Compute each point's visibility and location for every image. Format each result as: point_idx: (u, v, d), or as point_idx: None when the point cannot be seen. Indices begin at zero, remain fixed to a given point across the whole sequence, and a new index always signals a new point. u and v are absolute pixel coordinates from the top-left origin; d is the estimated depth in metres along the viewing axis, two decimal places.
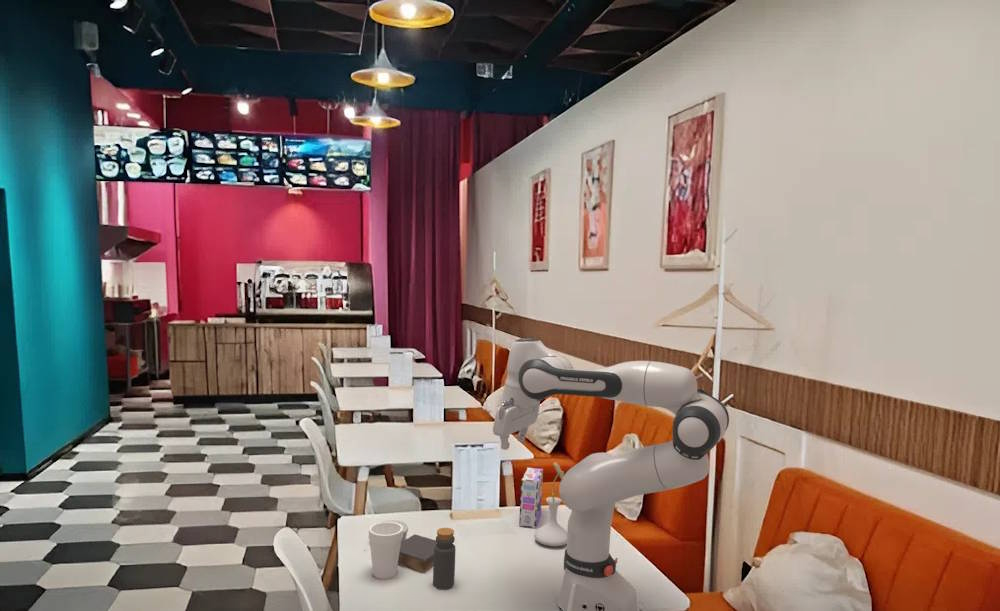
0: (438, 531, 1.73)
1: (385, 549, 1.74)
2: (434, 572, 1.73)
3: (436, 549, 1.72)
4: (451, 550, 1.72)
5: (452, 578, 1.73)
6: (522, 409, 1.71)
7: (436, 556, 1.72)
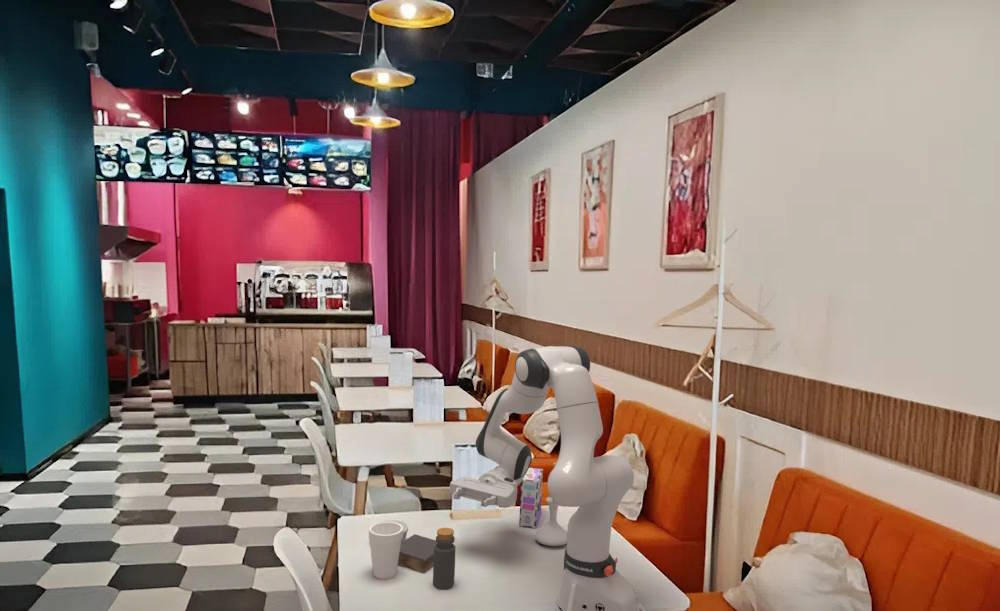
0: (438, 531, 1.73)
1: (385, 549, 1.74)
2: (434, 572, 1.73)
3: (436, 549, 1.72)
4: (451, 550, 1.72)
5: (452, 578, 1.73)
6: (482, 479, 1.95)
7: (436, 556, 1.72)
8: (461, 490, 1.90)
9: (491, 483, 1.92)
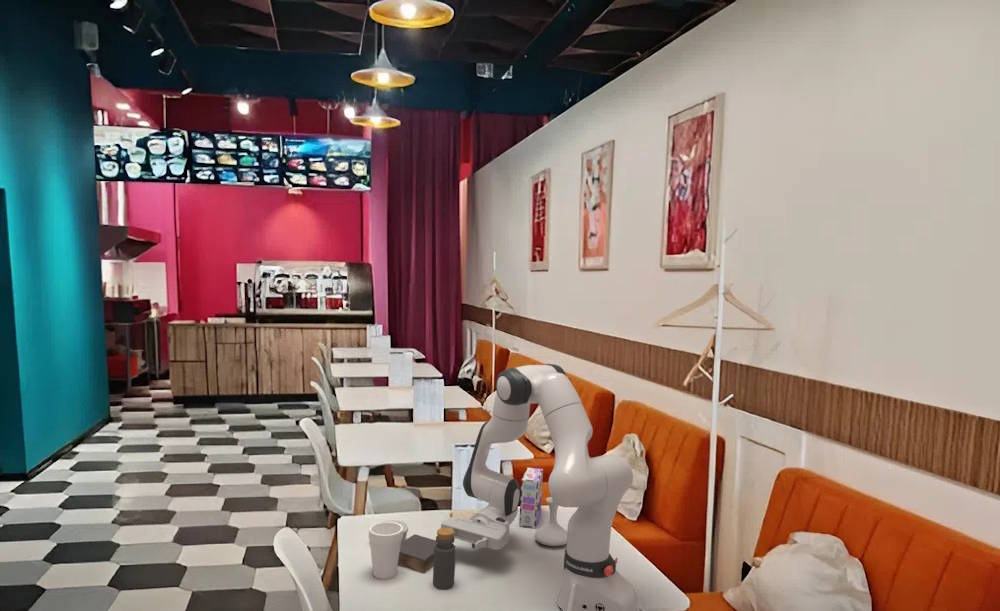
0: (438, 531, 1.73)
1: (385, 549, 1.74)
2: (434, 572, 1.73)
3: (436, 549, 1.72)
4: (451, 550, 1.72)
5: (452, 578, 1.73)
6: (473, 519, 1.91)
7: (436, 556, 1.72)
8: None
9: (483, 523, 1.89)
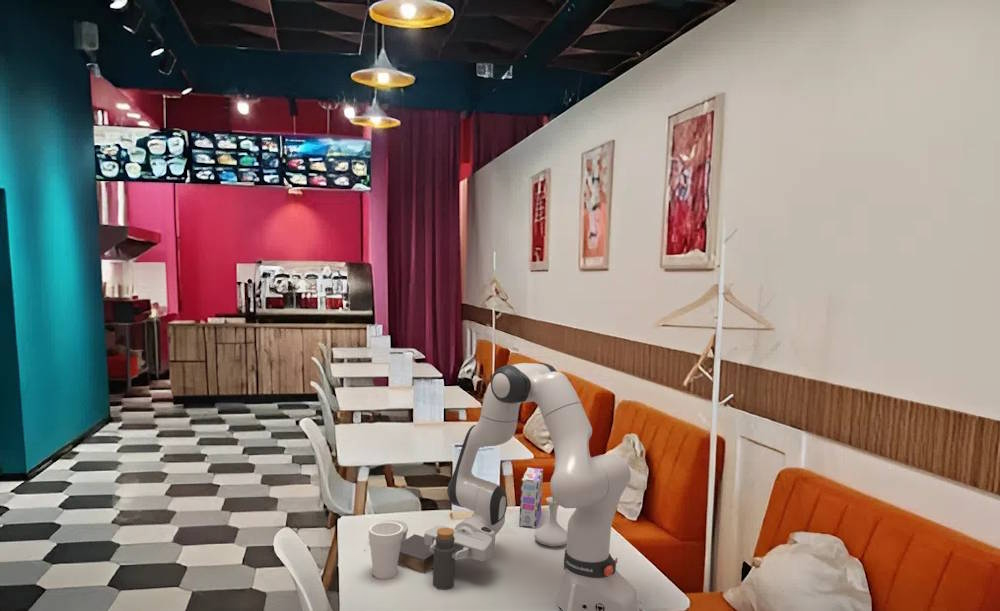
0: (438, 531, 1.73)
1: (385, 549, 1.74)
2: (434, 572, 1.73)
3: (436, 549, 1.72)
4: (451, 550, 1.72)
5: (452, 578, 1.73)
6: (458, 529, 1.84)
7: (436, 556, 1.72)
8: None
9: (468, 533, 1.82)
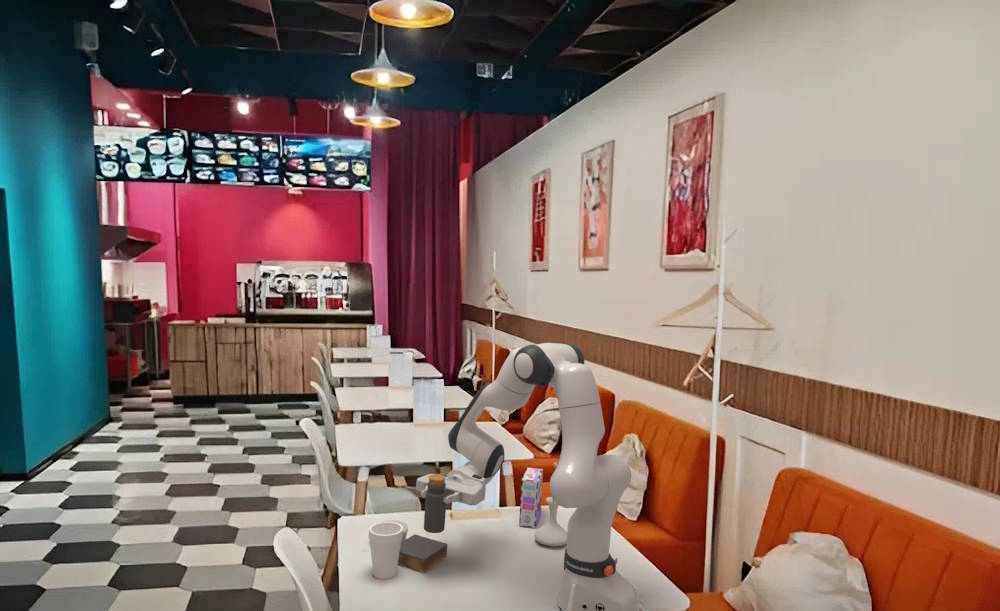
0: (430, 477, 1.77)
1: (385, 549, 1.74)
2: (426, 516, 1.77)
3: (428, 494, 1.76)
4: (442, 495, 1.76)
5: (443, 523, 1.77)
6: (449, 476, 1.88)
7: (427, 501, 1.76)
8: None
9: (459, 480, 1.86)
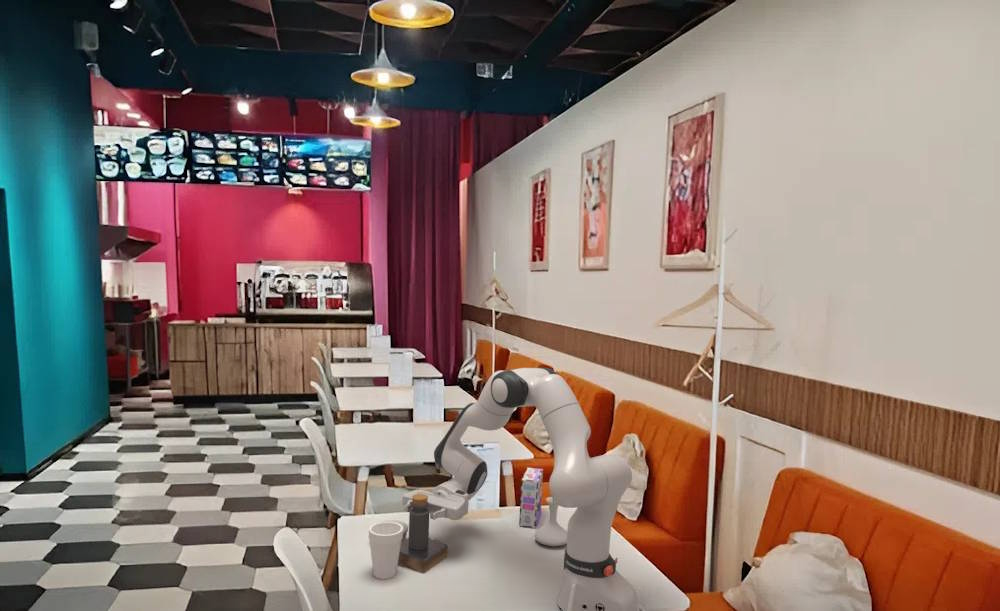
0: (413, 496, 1.87)
1: (385, 549, 1.74)
2: (410, 534, 1.86)
3: (411, 513, 1.86)
4: (425, 514, 1.86)
5: (426, 540, 1.87)
6: (434, 492, 1.97)
7: (411, 519, 1.86)
8: None
9: (443, 495, 1.95)
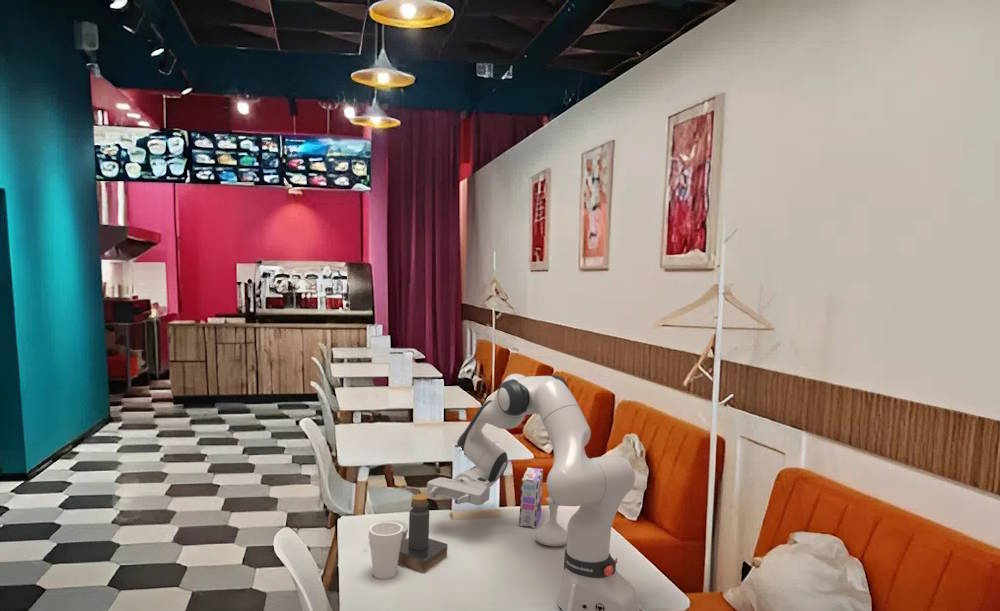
0: (413, 496, 1.87)
1: (385, 549, 1.74)
2: (410, 534, 1.86)
3: (411, 513, 1.86)
4: (425, 514, 1.86)
5: (426, 540, 1.87)
6: (457, 479, 2.08)
7: (411, 519, 1.86)
8: (437, 489, 2.04)
9: (465, 482, 2.06)
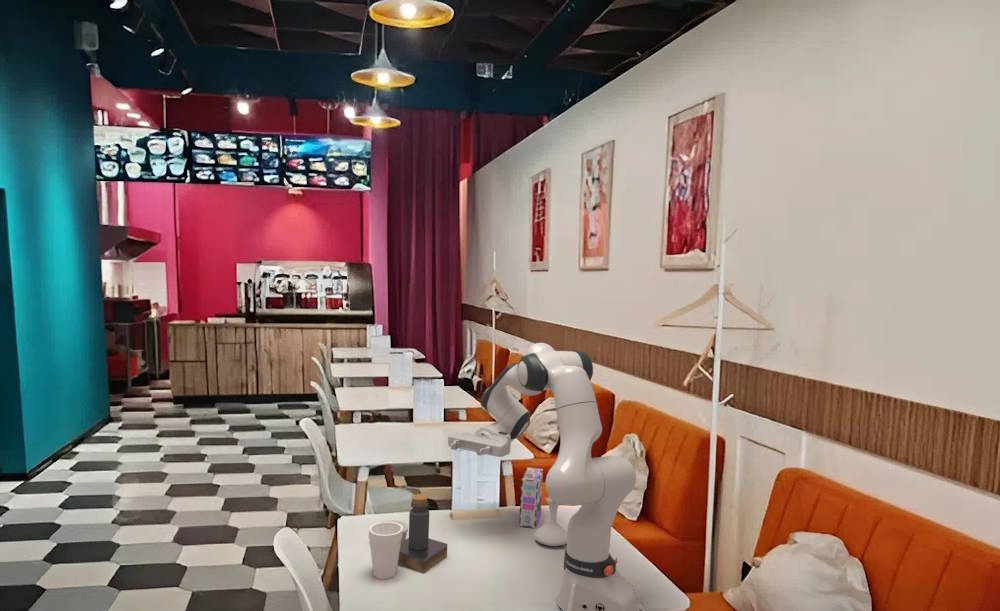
0: (413, 496, 1.87)
1: (385, 549, 1.74)
2: (410, 534, 1.86)
3: (411, 513, 1.86)
4: (425, 514, 1.86)
5: (426, 540, 1.87)
6: (478, 433, 2.09)
7: (411, 519, 1.86)
8: (458, 442, 2.04)
9: (486, 436, 2.06)
